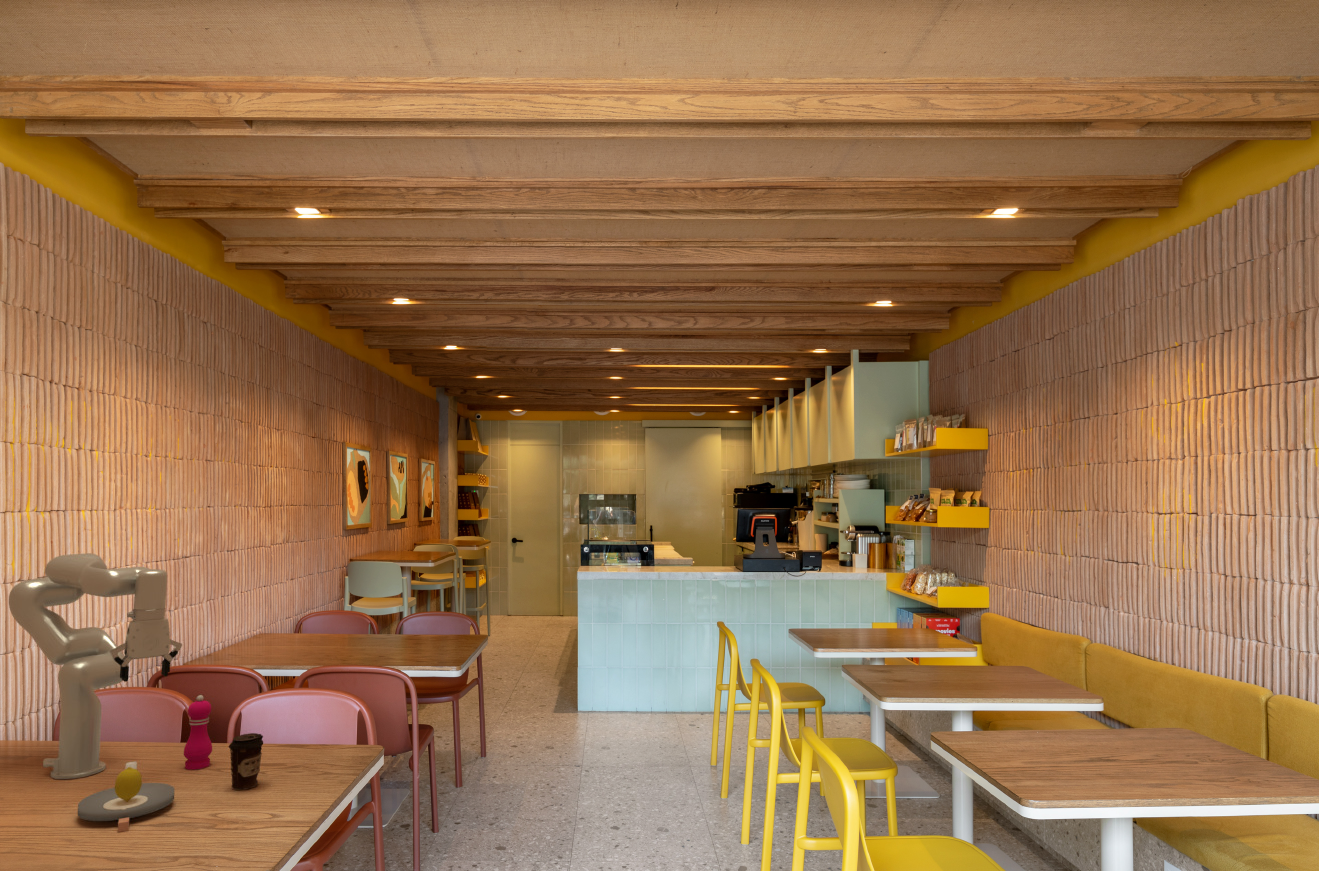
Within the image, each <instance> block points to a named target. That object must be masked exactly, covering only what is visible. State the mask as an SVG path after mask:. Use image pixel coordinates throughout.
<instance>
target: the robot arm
mask: <svg viewBox="0 0 1319 871" xmlns="http://www.w3.org/2000/svg"><path fill="white" fill-rule="evenodd" d="M44 574H45V576H46V577H42V578H41V577H40V578H33V579H32V578H31V579H28V580H27V579H26V580H23V581H20V582H19V583H17V584H15V585H14V586H13V587H12V588H11V590H10V591H9V594H8V608H9V611H10V613H11V616H12V618H13V619H14V620H15V622H16V623H17V624H18V625H19V626H21V628H23V630H25V631H26V632H27V633H28V635H30V637H31V638H32V639H33V640H34V642H35V643H36V645H37V646H38V648H39V649H40V650H41V652H42V653H43V655H45V657H46V658H47V660H48V661H50V663H51V664H53V665H56V666H61V667H60V669H59V670H58V672H57V683H58V688H59V689H58V690H59V695H60V717H59V719H60V720H59V735H58V736H59V738H58V755H57V757H56V758H54V757H53V758H52V757H49V758H43V762H42V766H43V768H51V767H52V769H53V770H51V771H50V777H51V778H52V779H56V780H70V779H79V778H84V777H88V776H92V775H96V774H99V773H100V772H103V771H104V770H105V769H106V763H105V762H104V761H101V760H100V752H101V750H100V749H101V733H102V732H101V729H102V701H101V700H100V698H99V697H98V695H97V694H96V693H95V690H99V689H103V688H107V687H111V686H115V685H119V684H121V683H122V682H124V683H125V682H128V681H129V671H130V665H129V663H130V662H131V661H132V660H141V659H149V658H150V659H151V658H158V657H162V658H163V659H162V660H161V672H160V674H161V675H162V676H163V677H168V676H169V673H170V671H171V662H172V661H173V659H174V658H175V657H176V656H177V655H178V654H179V652H180V650H181V648H182V646H183V644H182V643H180V642H178V641H176V640H174V639H171V636H170V635H171V634H170V623H169V618H166V607H167V606H166V602H167V588H168V587H167V586H168V572H167V571H166V570H164V569H160V568H159V569H157V568H156V569H155V568H154V569H153V568H149V567H146V566H135V567H134V566H133V567H122V568H121V567H119V568H111V569H109V568H108V566H107V565H106V563H105V562H104V560H103V559H102V557H101V556H99V555H97V554H96V553H76V554H74V553H73V554H62V555H57V556H56V557H53V558H52V559H51V560H49V561H48V562H47V564H46V566H45V568H44ZM85 594H86V595H90V596H95V597H101V598H115V597H121V596H133V595H134V597H133V608H132V611H128V612H127V613H126V618H132V620H129V624H128V627H127V631H126V636H125V640H124V641H125V642H124V643H121V644H120V645H117V644H116V643H115V642H114V640H113V639H112V637H111V636H110V635H109V634H108V633H107V632H106V631H105V630H103V629H102V628H99V627H97V626H96V627H95V626H91V627H88V626H87V627H82V628H73V627H71V626H70V625H69V624H68V622H67V621H66V620H65V619H64V618H63V617H62V616H61V615H59V614H58V613H57V612H55V611H52V610H50V609H48V608H47V607H55V606H62V605H63V606H64V605H69V604H73V603H75V602H76V601H78V600H79V599H80V598H81V597H83V596H84V595H85ZM171 646H173V649H172V650H171ZM170 650H171V651H170ZM122 651H124V652H122Z"/></svg>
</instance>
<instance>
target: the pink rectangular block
mask: <svg viewBox="0 0 1319 871" xmlns="http://www.w3.org/2000/svg"><path fill="white" fill-rule="evenodd" d="M129 827H130V819H129V817H128V818H122V819H119V821H117V833H121V832H127V831H129V829H130V828H129Z"/></svg>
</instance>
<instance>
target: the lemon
mask: <svg viewBox="0 0 1319 871" xmlns="http://www.w3.org/2000/svg"><path fill="white" fill-rule="evenodd" d="M142 783H143V778H142V775H141V772H140V771H139V770H136V769H133V768H131V767H128V768H127V769H126V768H125V769H123V770H122V771H120V772H119V774H118V775H117V776H116V779H115V783H114V787H115V793H116V795H117V796H118V797H119V798H121V799H124V800H125V801H129V800H130V799H131V798H133V797H135V796H136V795H137V794H138V793H139V791H140V789H141V786H142Z"/></svg>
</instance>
